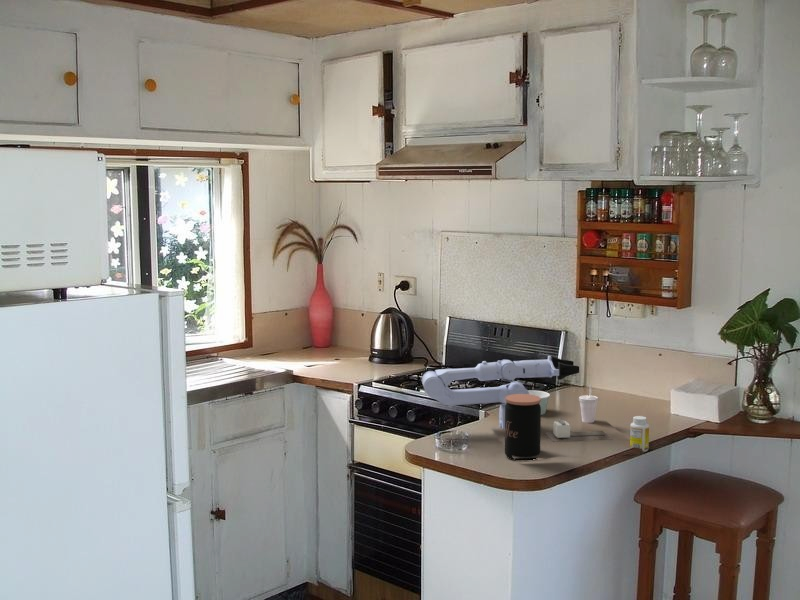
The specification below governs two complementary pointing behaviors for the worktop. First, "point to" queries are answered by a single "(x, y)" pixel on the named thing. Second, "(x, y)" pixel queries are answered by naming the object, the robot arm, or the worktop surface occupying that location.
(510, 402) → the coffee jar
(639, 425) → the supplement bottle
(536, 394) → the food container
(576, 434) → the fader board
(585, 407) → the smoothie
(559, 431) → the fader knob
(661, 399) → the worktop surface
